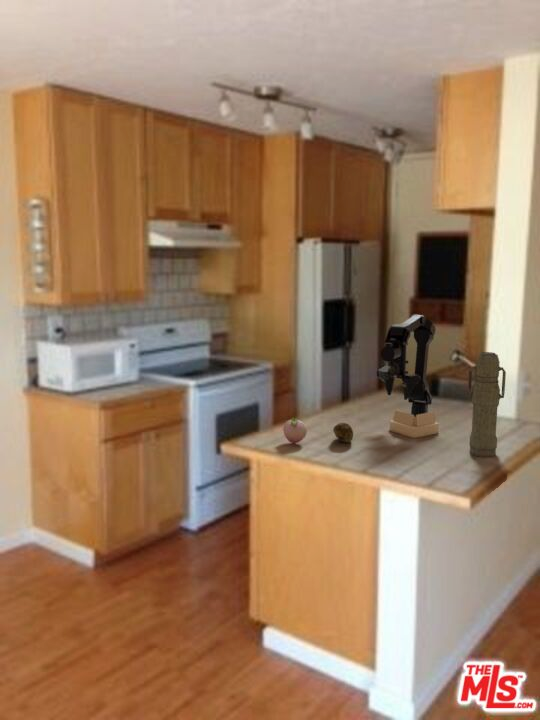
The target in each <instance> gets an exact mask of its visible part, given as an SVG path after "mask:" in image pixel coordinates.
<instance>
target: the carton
mask: <svg viewBox="0 0 540 720" xmlns="http://www.w3.org/2000/svg"><path fill="white" fill-rule="evenodd" d="M393 420H394V419H392V420H390V421H389V431H390V432H393V433H396V434H398V435H399V434H400V435H403V436H406V437H408V438H413V439H419V438H422V437H426V436H432V435H436V434H439V429H440V428H439V425H440V423H439V422H437V421H435V422H436V423H432V424H427V425H422V426H417V421H416V417H414V419H413V425H412V426H410V425H407V424H403V423H400V422H396V421H393Z"/></svg>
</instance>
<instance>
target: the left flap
mask: <svg viewBox="0 0 540 720" xmlns="http://www.w3.org/2000/svg"><path fill="white" fill-rule="evenodd" d="M416 421H417V426H422V425H427V424H432V423H436V422H437V421H436V412H435V411H430V412H428V413H424V414H419V415H416Z"/></svg>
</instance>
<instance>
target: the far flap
mask: <svg viewBox="0 0 540 720" xmlns="http://www.w3.org/2000/svg"><path fill="white" fill-rule="evenodd" d="M413 419H414V415H412V414H411V413H408V412H405V411H401V410H398V409H395V410H394V415H393V419H392V420H393V421H396V422H400V423H403V424H407V425H410V426H412V425H413Z"/></svg>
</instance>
